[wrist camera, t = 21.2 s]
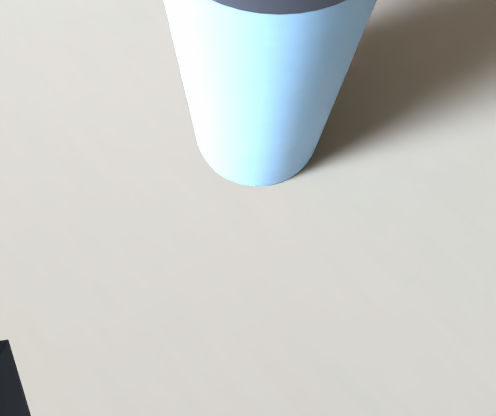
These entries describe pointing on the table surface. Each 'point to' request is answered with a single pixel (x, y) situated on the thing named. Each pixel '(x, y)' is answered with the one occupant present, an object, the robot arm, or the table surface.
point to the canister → (263, 78)
